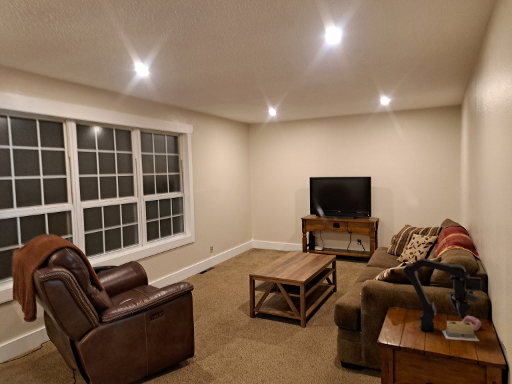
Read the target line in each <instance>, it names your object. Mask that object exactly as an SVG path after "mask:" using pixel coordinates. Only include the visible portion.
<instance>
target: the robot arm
mask: <svg viewBox="0 0 512 384" xmlns="http://www.w3.org/2000/svg"><path fill="white" fill-rule="evenodd" d="M424 267H425V268H429V269H432V270H437V271H442V272H445V273H448V274H449V275H450V276H449V278H448V279H449V280H451V281H453V285H452V286H453V287H452V291H450V292H449V293H448V297H449V300H450V301H451V303H452V304H451V305H453V308H454V310H455V312H456V313H458V314H459V316H460V319H461V320H463V319H464V318H465V317H466V314H467V312H468V311H471V310H472V305H471V303H469V302H468V301H470V302H473V303H477V301H478V299H479V296H478V295H476V294H475V293H474V292H473V291H479V292H480V291H481V292H482V277H473V276H470V274H469V273H468V272H467V271H466V267H465V266H464V265H462V264H460V263H445V262H440V261H435V260H431V259H426V258H424V257H421V258H419V259H417V260H416V261H414V262H412V263H411V262H410V263H407V264H406V265H405V266H404V268H403V273H404V274H405V276H406V278H407V279H409V281H411V284H412V286H413V288H414V291H415V293H416V294H417V296H418V299H419V301H420V303H421V309H422V312H421V314H420V316H419V329H420V331H421V332H425V333H434V330H435V323H434V321H433V319H435V317H436V314H437V307H436V306H435V303H434V302H431V301H430V300H429V299H428V296H427V294H426V291H425V290H424V288H423V286H422V283H421V281H420V279H419V276H418V270H420V269H421V268H424ZM466 288H468V290H466Z"/></svg>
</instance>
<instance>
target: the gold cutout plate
mask: <svg viewBox="0 0 512 384" xmlns="http://www.w3.org/2000/svg"><path fill="white" fill-rule="evenodd" d="M473 324H474V323H473V322H472V323H471V322H461V321H460V320H459V321H458V320H456V321H455V320H446V329H447V330H448V332H449V333H456V334H472V335H474V334H475V331H474V326H473Z"/></svg>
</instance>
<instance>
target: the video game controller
mask: <svg viewBox="0 0 512 384" xmlns="http://www.w3.org/2000/svg"><path fill="white" fill-rule="evenodd" d="M460 322H471V323H472V324H473V326H474V332H477V331H478V330H479V329H480V327H481V326H482V322H481V320H479V319H478V318H476V317H475V316H472V315H471V316H470V315H465V317H464V319H461V321H460Z"/></svg>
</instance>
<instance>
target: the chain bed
mask: <svg viewBox="0 0 512 384" xmlns="http://www.w3.org/2000/svg"><path fill="white" fill-rule="evenodd" d="M441 332H442V334H443V335H444V337H445V339H446V340H455V341H467V342H468V341H469V342H470V341H471V342H480V339H479V338H478V336H477V335H476V333H474V335H472V334H456V333H449V332H448V330H447V328H445V330H441Z"/></svg>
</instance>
